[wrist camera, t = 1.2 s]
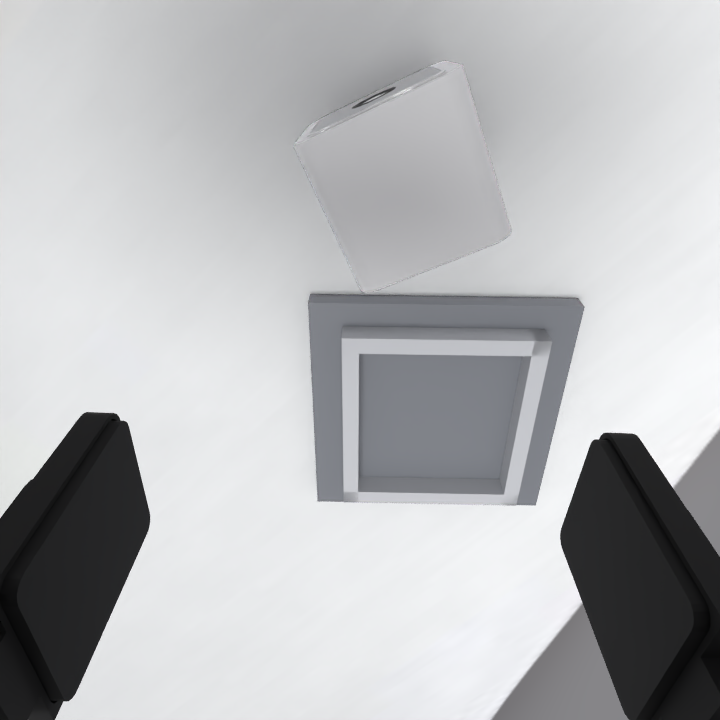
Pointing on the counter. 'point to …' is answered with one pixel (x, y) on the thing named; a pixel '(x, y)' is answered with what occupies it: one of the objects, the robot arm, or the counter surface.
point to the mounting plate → (437, 395)
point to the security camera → (406, 177)
